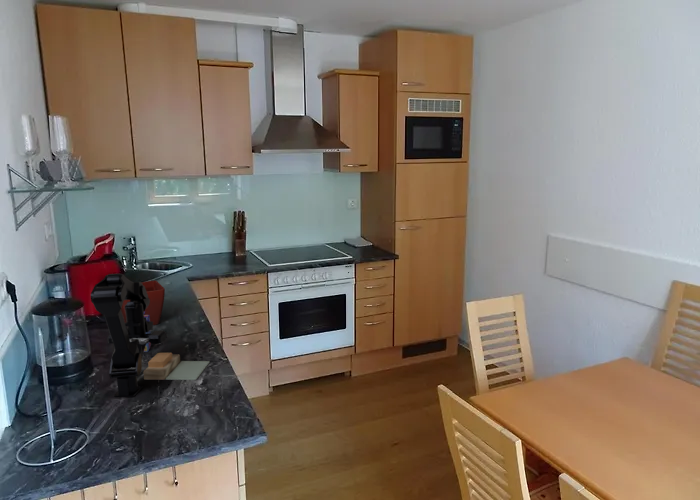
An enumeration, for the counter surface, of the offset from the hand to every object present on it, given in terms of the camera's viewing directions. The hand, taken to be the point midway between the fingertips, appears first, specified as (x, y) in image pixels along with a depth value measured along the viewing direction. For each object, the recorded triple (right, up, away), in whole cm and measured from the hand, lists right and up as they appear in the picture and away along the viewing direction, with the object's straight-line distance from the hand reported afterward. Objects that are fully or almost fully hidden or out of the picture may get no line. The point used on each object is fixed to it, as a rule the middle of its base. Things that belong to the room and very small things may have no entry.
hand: (139, 359), depth 173 cm
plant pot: (-20, +5, +49) cm, 53 cm away
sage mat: (+17, -4, 0) cm, 18 cm away
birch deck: (+8, -4, 0) cm, 9 cm away
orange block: (+7, -1, 0) cm, 8 cm away
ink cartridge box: (-7, 0, +21) cm, 22 cm away
